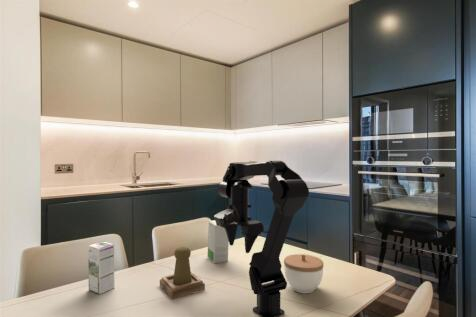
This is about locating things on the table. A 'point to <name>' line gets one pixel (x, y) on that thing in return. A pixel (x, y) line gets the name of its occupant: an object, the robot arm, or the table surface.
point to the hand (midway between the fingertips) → (239, 249)
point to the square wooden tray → (181, 286)
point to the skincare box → (217, 243)
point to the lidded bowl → (303, 272)
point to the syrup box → (101, 267)
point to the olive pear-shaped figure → (182, 266)
